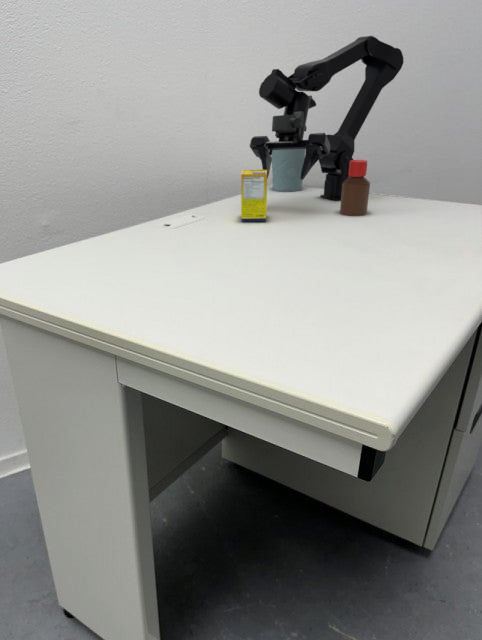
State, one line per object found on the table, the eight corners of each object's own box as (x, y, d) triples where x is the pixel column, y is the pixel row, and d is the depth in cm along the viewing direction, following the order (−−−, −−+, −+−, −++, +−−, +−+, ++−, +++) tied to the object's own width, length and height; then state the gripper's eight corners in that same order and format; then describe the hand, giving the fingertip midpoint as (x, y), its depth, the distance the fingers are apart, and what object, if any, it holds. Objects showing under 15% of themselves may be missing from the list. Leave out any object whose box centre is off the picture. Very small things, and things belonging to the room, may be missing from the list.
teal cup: (295, 193, 157) (298, 148, 152) (263, 190, 162) (264, 147, 156) (308, 187, 165) (311, 144, 159) (277, 184, 170) (279, 143, 164)
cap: (356, 173, 132) (358, 159, 130) (369, 175, 129) (371, 160, 127) (344, 175, 130) (346, 160, 128) (357, 177, 127) (358, 162, 125)
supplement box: (266, 216, 133) (267, 168, 128) (266, 222, 128) (267, 173, 123) (241, 216, 134) (242, 169, 128) (240, 222, 128) (241, 173, 123)
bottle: (352, 208, 137) (358, 160, 132) (372, 213, 133) (378, 163, 127) (334, 212, 134) (338, 163, 129) (353, 217, 130) (358, 165, 124)
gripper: (247, 101, 129) (235, 164, 128) (325, 94, 121) (313, 162, 120) (262, 126, 139) (251, 185, 138) (335, 122, 131) (324, 184, 130)
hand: (283, 179), depth 131 cm, fingers open, 9 cm apart
